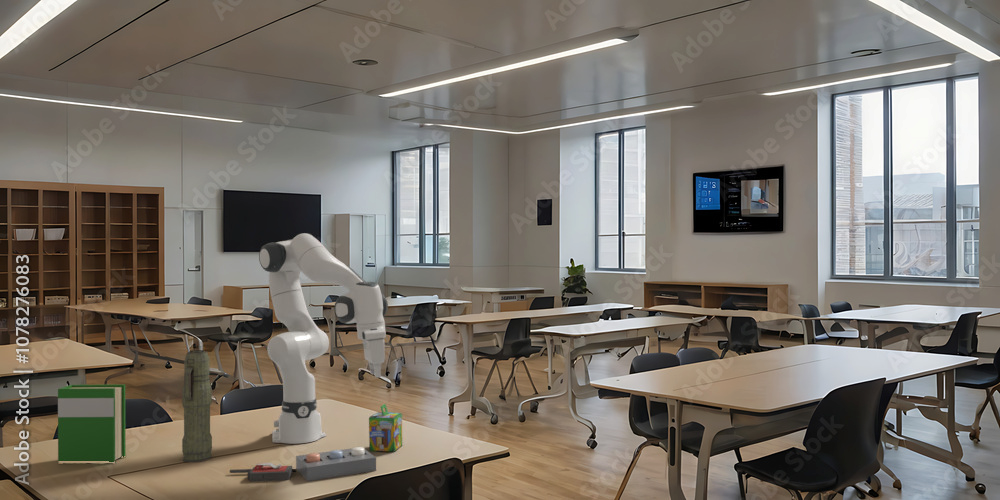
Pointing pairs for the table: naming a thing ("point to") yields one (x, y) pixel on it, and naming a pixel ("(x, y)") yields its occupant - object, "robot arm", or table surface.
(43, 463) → the table surface
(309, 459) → the orange egg
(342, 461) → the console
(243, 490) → the table surface
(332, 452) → the pale blue egg shape
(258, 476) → the walkie-talkie
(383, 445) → the chalk box
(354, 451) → the white ellipsoid
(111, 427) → the hardback book
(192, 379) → the thermos
